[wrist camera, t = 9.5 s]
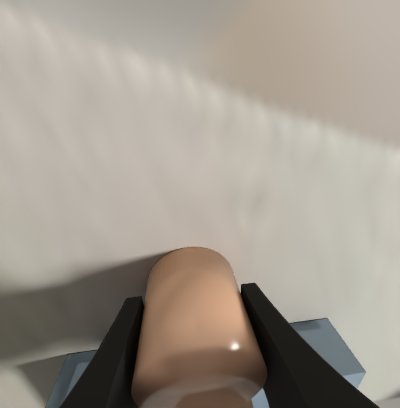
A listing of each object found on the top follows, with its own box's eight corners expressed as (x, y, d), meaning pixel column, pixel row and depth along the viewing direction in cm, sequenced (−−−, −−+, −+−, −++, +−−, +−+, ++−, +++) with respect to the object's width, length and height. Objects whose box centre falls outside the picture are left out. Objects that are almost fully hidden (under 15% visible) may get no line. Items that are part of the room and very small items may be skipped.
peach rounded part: (154, 315, 12) (143, 428, 8) (141, 252, 10) (116, 358, 6) (232, 305, 12) (261, 408, 8) (233, 242, 10) (274, 335, 6)
